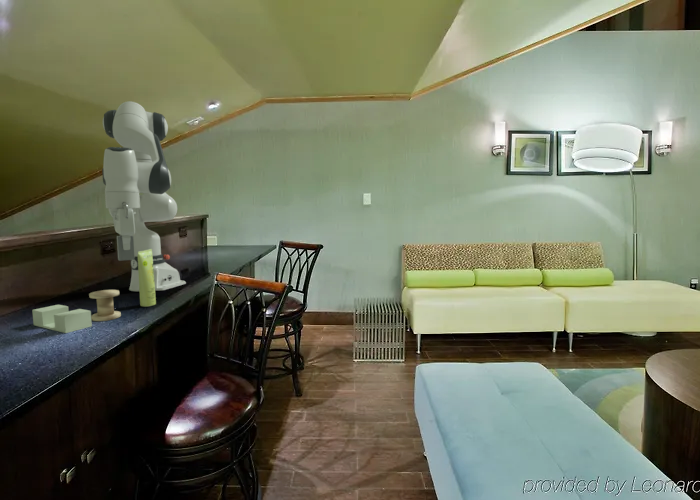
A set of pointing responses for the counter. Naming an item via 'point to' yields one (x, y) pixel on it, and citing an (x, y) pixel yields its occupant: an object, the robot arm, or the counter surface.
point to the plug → (125, 253)
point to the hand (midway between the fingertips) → (125, 249)
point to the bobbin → (105, 305)
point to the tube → (146, 278)
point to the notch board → (62, 318)
